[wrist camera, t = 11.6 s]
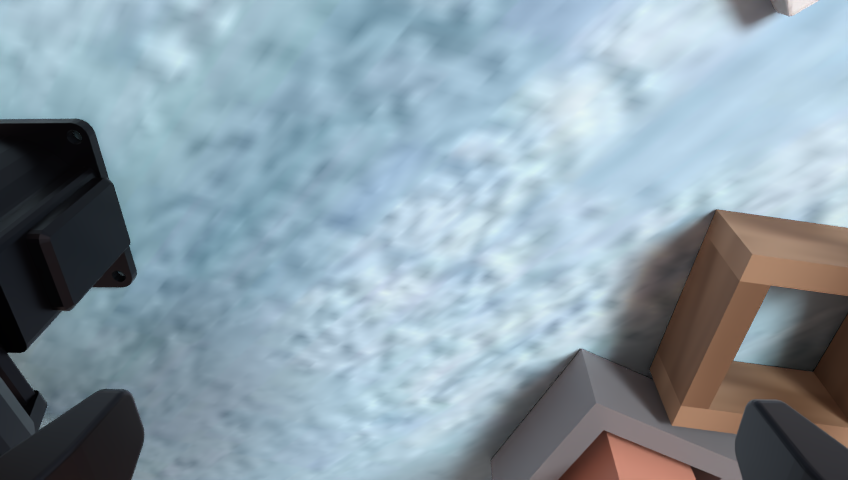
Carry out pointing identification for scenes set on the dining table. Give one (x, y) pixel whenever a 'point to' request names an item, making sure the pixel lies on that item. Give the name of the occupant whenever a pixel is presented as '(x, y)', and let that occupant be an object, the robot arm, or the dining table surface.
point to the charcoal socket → (606, 425)
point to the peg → (625, 462)
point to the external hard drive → (791, 6)
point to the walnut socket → (732, 317)
